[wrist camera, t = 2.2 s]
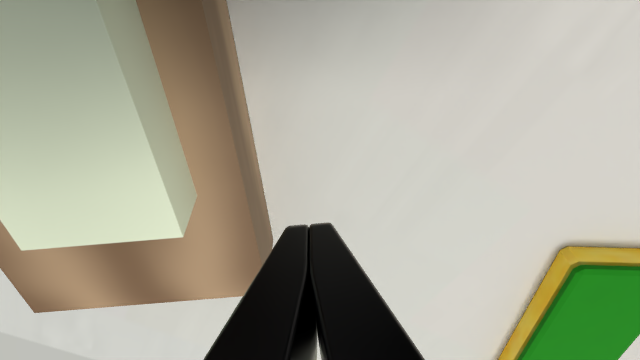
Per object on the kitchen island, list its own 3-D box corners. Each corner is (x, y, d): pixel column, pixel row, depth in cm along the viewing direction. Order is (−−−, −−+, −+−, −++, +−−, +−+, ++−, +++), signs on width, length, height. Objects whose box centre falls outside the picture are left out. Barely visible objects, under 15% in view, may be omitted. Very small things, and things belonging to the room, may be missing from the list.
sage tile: (119, -51, 12) (82, -38, 10) (197, 195, 17) (183, 237, 15) (-85, -32, 12) (-164, -15, 10) (54, 207, 17) (21, 250, 15)
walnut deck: (159, -342, 11) (101, -435, 8) (273, 239, 24) (268, 293, 21) (-265, -298, 12) (-487, -371, 8) (70, 255, 24) (34, 313, 21)
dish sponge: (665, 244, 26) (695, 273, 24) (573, 365, 34) (589, 395, 32) (558, 241, 26) (579, 270, 24) (489, 365, 34) (501, 394, 32)
